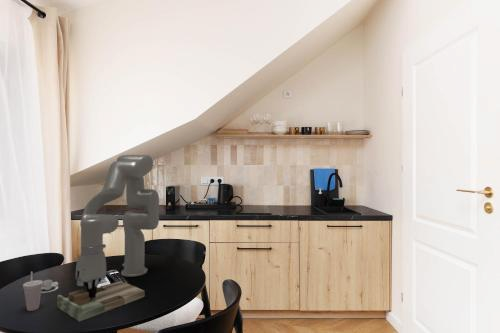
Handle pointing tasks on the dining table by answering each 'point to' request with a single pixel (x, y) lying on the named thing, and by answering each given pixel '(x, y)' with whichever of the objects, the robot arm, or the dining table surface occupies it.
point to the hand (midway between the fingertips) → (91, 297)
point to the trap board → (101, 300)
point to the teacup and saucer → (49, 285)
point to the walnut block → (79, 297)
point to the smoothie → (32, 293)
